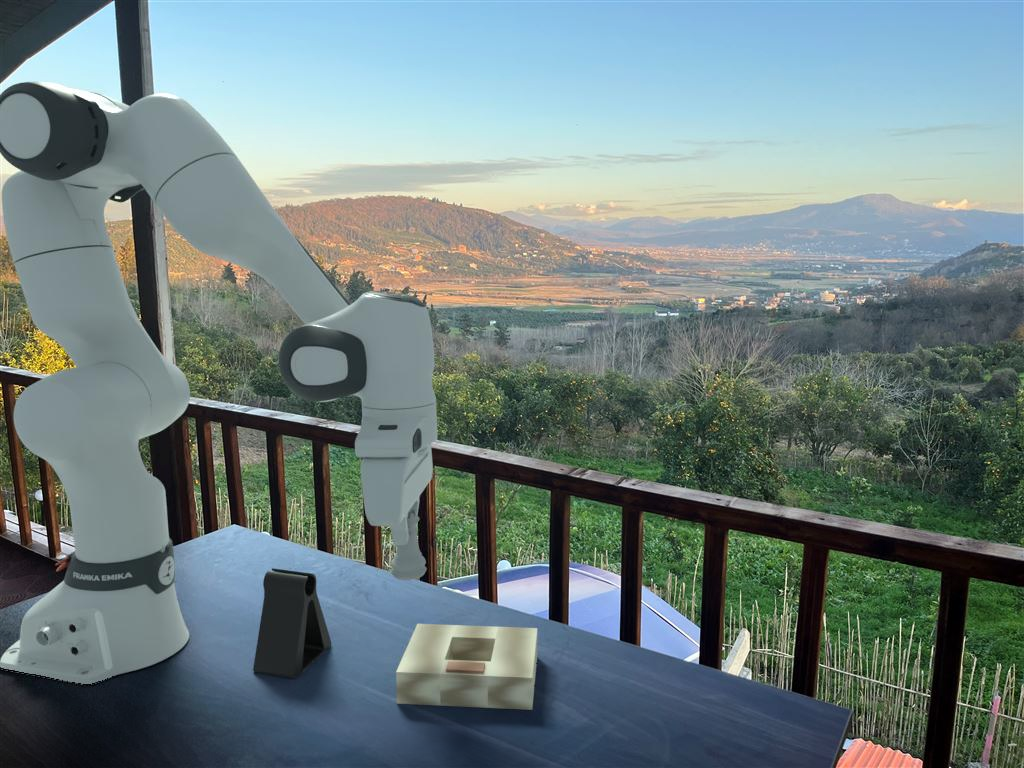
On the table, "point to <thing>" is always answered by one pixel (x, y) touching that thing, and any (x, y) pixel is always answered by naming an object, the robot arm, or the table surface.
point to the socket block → (469, 667)
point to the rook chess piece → (409, 554)
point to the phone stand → (290, 625)
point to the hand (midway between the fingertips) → (405, 536)
